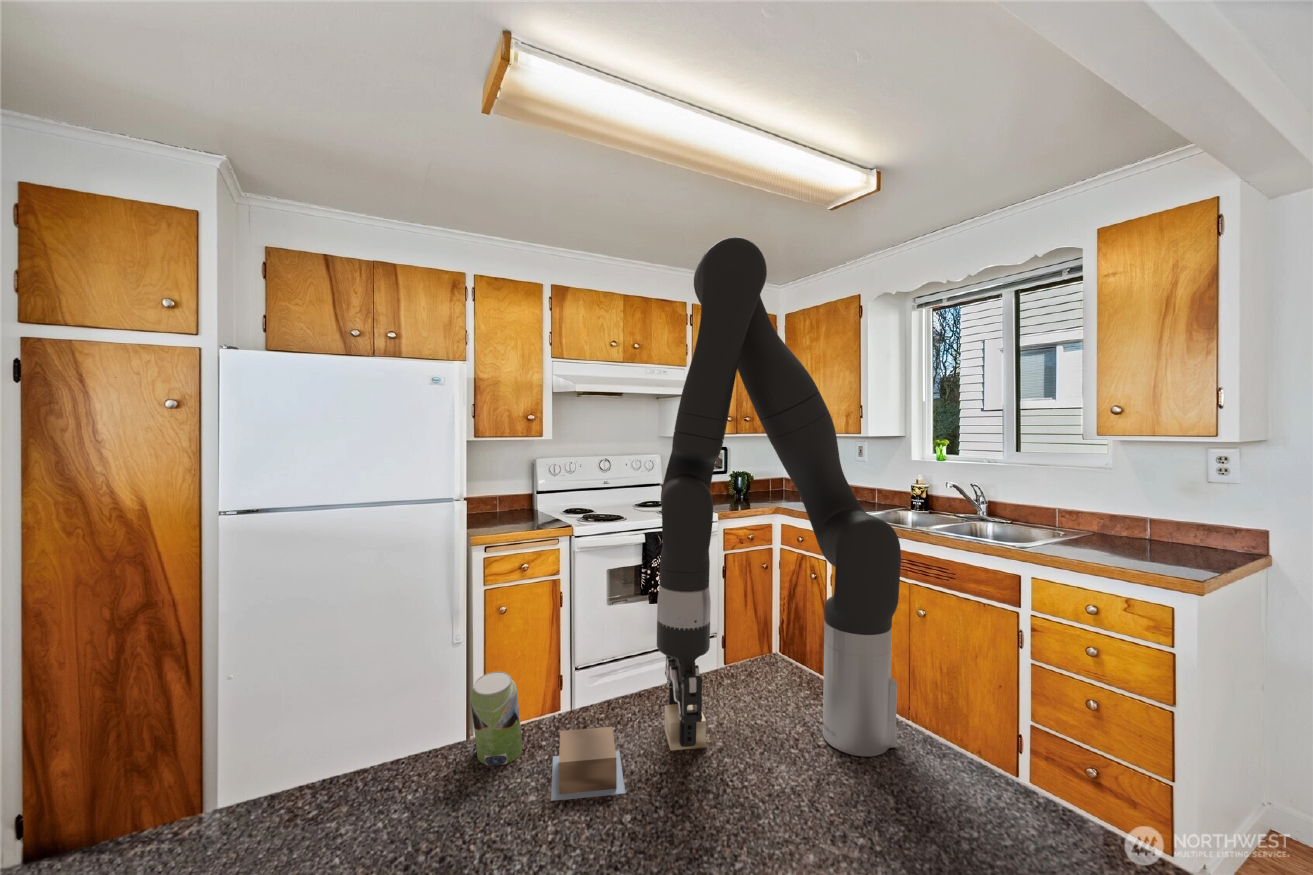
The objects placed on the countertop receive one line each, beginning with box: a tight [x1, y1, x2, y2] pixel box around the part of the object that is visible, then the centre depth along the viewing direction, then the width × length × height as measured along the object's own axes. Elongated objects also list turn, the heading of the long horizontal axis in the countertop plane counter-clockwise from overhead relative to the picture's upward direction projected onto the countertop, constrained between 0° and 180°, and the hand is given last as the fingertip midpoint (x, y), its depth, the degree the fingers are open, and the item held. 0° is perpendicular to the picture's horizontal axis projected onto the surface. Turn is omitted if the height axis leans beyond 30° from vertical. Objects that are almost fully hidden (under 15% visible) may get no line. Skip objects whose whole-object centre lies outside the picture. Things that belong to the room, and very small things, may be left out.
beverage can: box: [469, 671, 524, 767], centre depth 79 cm, size 6×7×12 cm
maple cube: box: [664, 704, 707, 751], centre depth 83 cm, size 5×5×5 cm
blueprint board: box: [550, 749, 626, 802], centre depth 75 cm, size 16×12×1 cm
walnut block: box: [558, 726, 617, 794], centre depth 75 cm, size 7×7×4 cm
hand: (681, 727), depth 83 cm, fingers open, 8 cm apart
